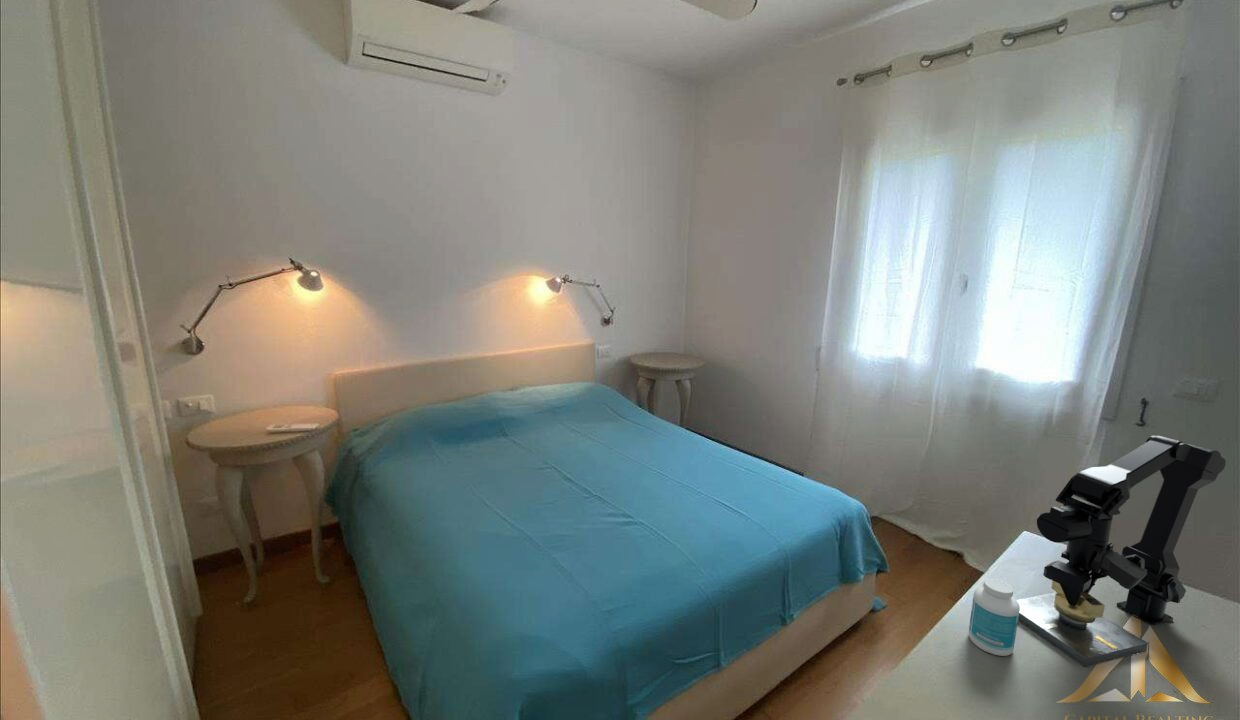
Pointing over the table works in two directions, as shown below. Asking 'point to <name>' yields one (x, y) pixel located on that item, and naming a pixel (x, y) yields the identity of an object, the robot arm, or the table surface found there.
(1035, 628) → the lock base
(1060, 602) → the brass lock knob
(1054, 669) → the table surface
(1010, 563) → the table surface
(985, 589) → the pill bottle
